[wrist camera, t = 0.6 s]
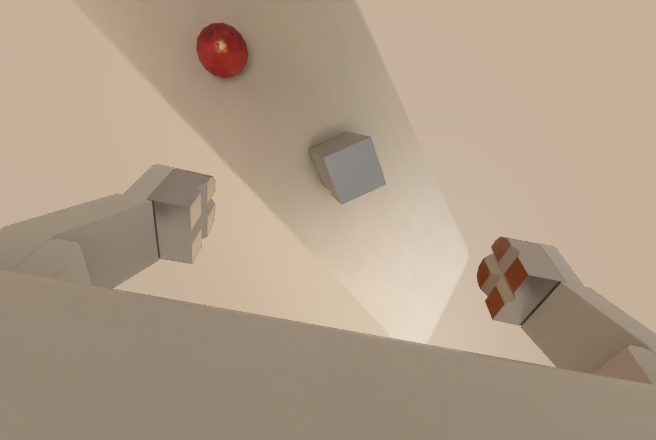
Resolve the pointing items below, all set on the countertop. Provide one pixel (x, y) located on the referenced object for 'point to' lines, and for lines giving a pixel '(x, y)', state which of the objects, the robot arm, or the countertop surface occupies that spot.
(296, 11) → the countertop surface
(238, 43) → the pomegranate
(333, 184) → the grey block
